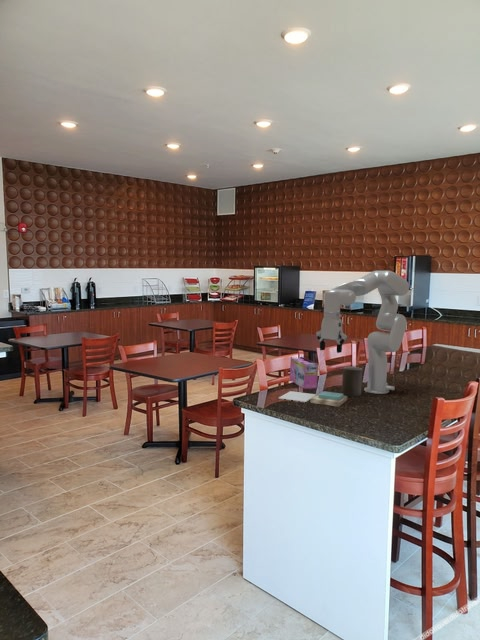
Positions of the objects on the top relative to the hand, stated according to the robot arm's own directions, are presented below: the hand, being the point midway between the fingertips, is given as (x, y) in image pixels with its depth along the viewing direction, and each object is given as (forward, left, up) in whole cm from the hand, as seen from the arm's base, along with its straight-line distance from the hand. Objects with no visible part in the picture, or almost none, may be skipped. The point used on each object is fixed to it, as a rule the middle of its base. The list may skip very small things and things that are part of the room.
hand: (330, 351), depth 234 cm
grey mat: (+16, +1, -24) cm, 29 cm away
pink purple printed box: (+24, -28, -25) cm, 44 cm away
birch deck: (0, +1, -24) cm, 24 cm away
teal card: (-1, +1, -22) cm, 22 cm away
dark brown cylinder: (-6, -19, -24) cm, 31 cm away
